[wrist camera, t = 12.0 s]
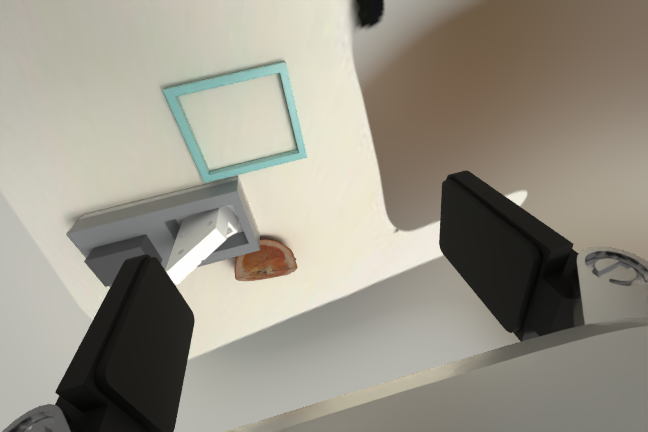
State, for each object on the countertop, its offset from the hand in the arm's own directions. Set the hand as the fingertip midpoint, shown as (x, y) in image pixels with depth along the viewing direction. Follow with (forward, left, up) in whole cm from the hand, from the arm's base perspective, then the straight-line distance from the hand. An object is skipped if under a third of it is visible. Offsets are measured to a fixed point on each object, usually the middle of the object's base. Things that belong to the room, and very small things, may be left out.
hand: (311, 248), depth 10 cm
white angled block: (+13, -11, -28) cm, 33 cm away
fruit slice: (+22, -7, -29) cm, 37 cm away
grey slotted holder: (+14, -16, -28) cm, 35 cm away
